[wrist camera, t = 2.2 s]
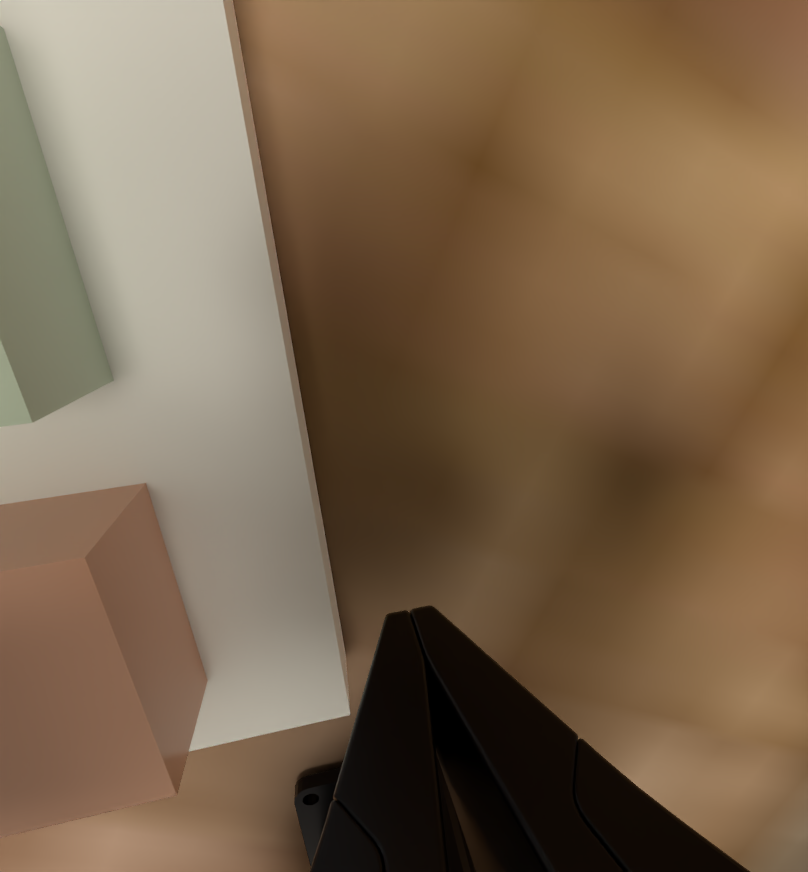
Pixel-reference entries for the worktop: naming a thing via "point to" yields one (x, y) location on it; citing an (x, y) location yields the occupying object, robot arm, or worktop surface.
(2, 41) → the sage tile
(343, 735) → the worktop surface
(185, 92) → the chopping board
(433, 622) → the robot arm
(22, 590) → the terracotta tile
